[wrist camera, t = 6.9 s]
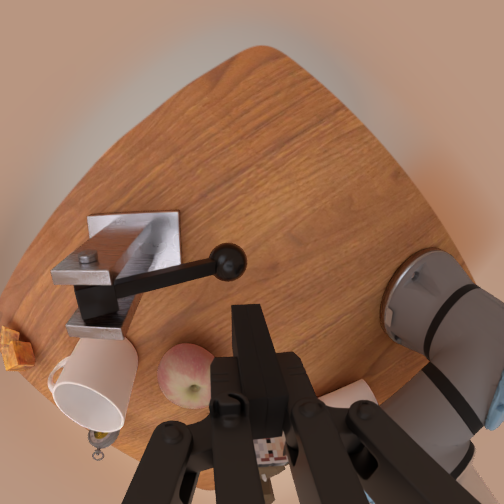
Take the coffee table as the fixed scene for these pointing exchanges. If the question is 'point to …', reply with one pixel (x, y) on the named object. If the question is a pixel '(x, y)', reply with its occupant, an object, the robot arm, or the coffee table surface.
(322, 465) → the robot arm
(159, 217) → the bracket
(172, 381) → the apple
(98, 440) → the pocket watch
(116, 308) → the lever
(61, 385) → the mug
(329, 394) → the white cylinder
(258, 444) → the toy
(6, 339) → the pyrite
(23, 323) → the coffee table surface
